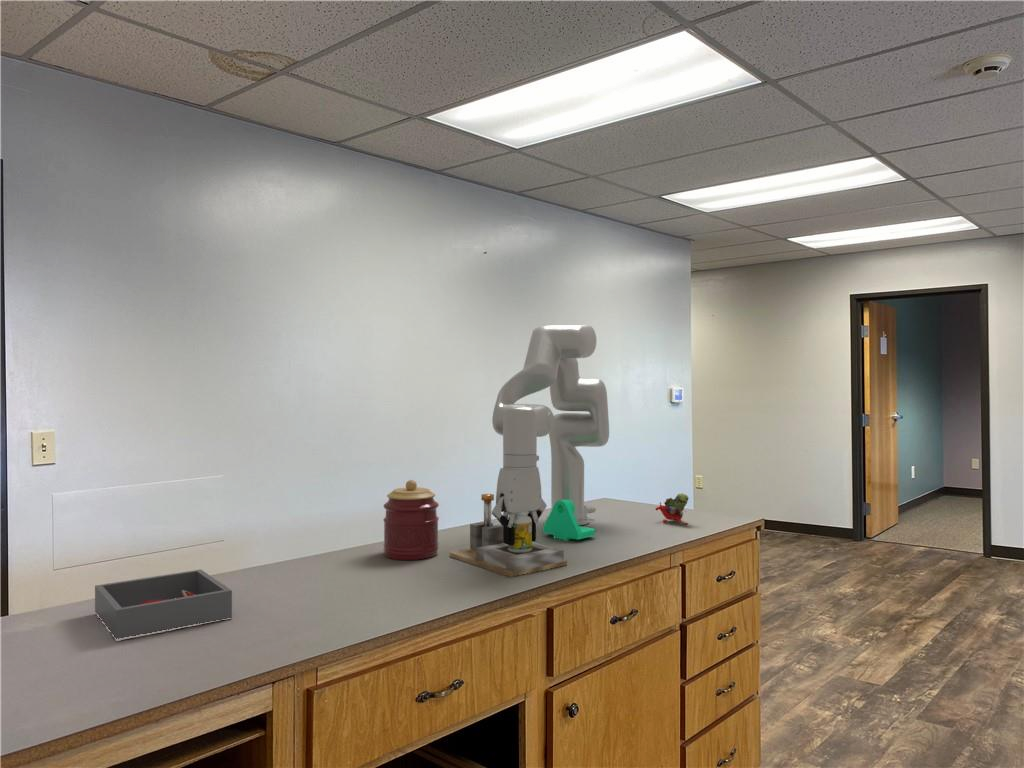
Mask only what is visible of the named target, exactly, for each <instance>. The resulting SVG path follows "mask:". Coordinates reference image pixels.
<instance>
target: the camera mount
mask: <svg viewBox="0 0 1024 768" xmlns="http://www.w3.org/2000/svg"><path fill="white" fill-rule="evenodd" d="M574 511H575V506H574V503H573V502H572V501H571V500H570V499H565V500H559V501H557V502H556V503H555V505H554V506H553V508H552V510H551V511H550V513H549V515H548V516H547V517H548V518H547V520H546V519H545V522H544V524H543V525H542V532H543V533H544V534H547V535H552V536H553V537H555V538H560V539H564V540H563V541H565V540H569V539H573V540H582V539H586V538H589V537H591V538H592V537H594V536H596V529H595V528H592V527H586V526H583V525H578V523H577V520H576V518H575V516H574V514H573V513H574ZM555 538H554V539H555ZM560 539H559V540H560ZM569 541H570V540H569Z"/></svg>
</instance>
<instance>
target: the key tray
mask: <svg viewBox="0 0 1024 768" xmlns="http://www.w3.org/2000/svg"><path fill="white" fill-rule="evenodd" d="M182 590H184V591H187V592H189V593H193V594H195V595H193V596H187V597H181V598H180V596H181V595H183V594H182V592H181V591H182ZM175 598H176V599H175ZM168 599H169V600H168ZM152 600H164V601H158V602H152V603H147V604H141V603H143V602H145V601H152ZM140 604H141V605H140ZM95 612H96V613H97V614H98V615H99V617H100V618H101V619H102V621H103V622H104V623H105V625H106V626H107V627H108V629H109V630H110V631H111V633H112V634H113V635H114V637H115V638H116V639H117V638H118V639H119V638H124V637H129V636H136V635H140V634H147V633H152V632H157V631H162V630H167V629H168V630H169V629H172V628H178V627H183V626H188V625H193V624H198V623H199V624H200V623H205V622H210V621H216V620H222V619H227V618H232V619H233V590H232V589H230V588H229V587H227V586H226V585H225V584H223V583H221V582H220V581H218V580H217V579H216V578H214V577H213V576H211V575H210V574H208V572H205V571H204V570H202V569H193V570H188V571H187V570H186V571H181V572H176V573H175V572H174V573H169V574H163V575H155V576H148V577H143V578H136V579H135V578H134V579H130V580H128V579H127V580H124V581H115V582H109V583H101V584H97V585H94V613H95Z"/></svg>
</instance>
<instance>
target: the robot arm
mask: <svg viewBox="0 0 1024 768" xmlns="http://www.w3.org/2000/svg"><path fill="white" fill-rule="evenodd" d="M527 347H528V348H527V352H526V356H525V360H524V363H523V364H524V365H523V368H522V369H521V370H519V371H518V372H517V373H515V375H513V376H512V377H510V379H509V380H507V381H506V382H505V383H504V385H502V387H501V388H500V390H499V391H498V394H497V397H496V401H495V405H494V408H493V411H492V418H491V419H492V420H491V421H492V423H491V424H492V427H493V429H494V431H495V433H497V435H500V436H502V467H501V468H500V469H499V472H498V476H497V483H496V490H495V491H496V492H495V494H496V495H495V505H494V507H493V509H491V516H493V517H494V518H495V519H496V520H497V521H498V522H499V523H500V525H502V526H503V539H504V543H505V544H508V545H511V546H512V545H514V544H515V528H514V527H512V525H513V521H514V517H515V514H519V513H522V512H526V511H527V512H529V513H528V515H527V516H529V517H530V518H531V520H532V542H536V540H537V524H538V523H539V519H540V517H541V516H542V514H543V512H544V511H545V510H546V508H547V504H546V502H545V501H544V500H543V498H542V484H541V483H542V482H541V481H542V480H541V474H540V470H539V467H538V465H537V464H538V463H537V462H538V461H540V456H539V455H538V454H537V452H538V451H537V450H538V449H537V447H538V446H537V443H538V442H537V439H538V437H540V438H541V437H546V436H548V437H549V443H550V454H551V455H550V457H551V467H550V468H551V471H550V473H551V477H550V478H551V480H550V483H551V487H550V488H551V489H550V490H551V491H550V493H551V499H550V500H551V505H550V506H551V507H550V508H551V510H552V508H553V506H554V505H555V503H556V502H557V501H559V500H565V499H570V500H571V501H572V502H573V503H574V506H575V511H574V513H573V514H574V516H575V518H576V520H577V523H578V525H579V526H584V525H587V524H589V523H590V518H589V517H588V516H587V515H588V514H595V512H596V510H597V508H596V506H594V505H591V506H587V505H585V460H584V458H583V456H582V455H581V453H580V452H579V450H577V447H578V448H579V447H585V448H586V447H587V448H588V447H590V448H592V447H593V448H594V447H595V448H597V447H603V446H605V445H607V443H609V442H608V441H609V439H610V422H609V421H610V420H609V408H608V407H609V406H608V404H609V402H608V393H607V391H608V390H607V387H606V385H605V383H604V381H603V380H601V379H599V378H596V377H581V376H580V374H579V373H580V371H579V361H578V359H586V358H589V357H591V356H592V355H593V354H594V352H595V350H596V347H597V333H596V331H595V329H594V327H592V325H589V324H553V325H552V324H551V325H540V326H537V327H535V328H534V329H533V330H532V333H531V337H530V341H529V343H528V346H527ZM547 388H549V392H550V393H549V395H550V401H551V404H552V407H553V408H554V409H555V410H557V411H560V412H561V411H562V412H561V413H556V414H554V413H553V411H552V410H551V408H550V407H549V406H547V405H544V404H527V403H525V404H524V403H517V402H518V401H519V400H520V399H522V398H525V397H527V396H529V395H532V394H535V393H537V392H541V391H543V390H545V389H547ZM579 412H581V413H579ZM582 412H586V413H582ZM547 518H548V516H546V518H545V521H546V520H547Z"/></svg>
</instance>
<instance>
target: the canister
mask: <svg viewBox="0 0 1024 768" xmlns="http://www.w3.org/2000/svg"><path fill="white" fill-rule="evenodd" d="M435 496H436V493H434V492H433V491H431V490H430V489H429V488H427V487H418V484H417V482H416V481H415V480H413V479H409V480H408V481H406V483H405V487H399V488H395V489H393V490H392V491H391V492H389V493H388V494H387V496H386V497H387V498H388V501H387V502H385V503H384V504H383V508H384V509H385V517H383V524H384V525H383V526H384V527H383V528H384V529H383V530H384V531H383V538H384V539H383V545H382V546H383V551H384V556H385V557H387V558H389V559H392V560H399V561H415V560H416V561H417V560H425V558H426V559H429V558H433V557H435V556H436V555H438V551H439V548H440V547H439V544H440V543H439V519H440V518H439V517H438V515H437V514H438V513H437V508H439V503H438V502H437V501H435V499H434V498H435Z"/></svg>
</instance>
